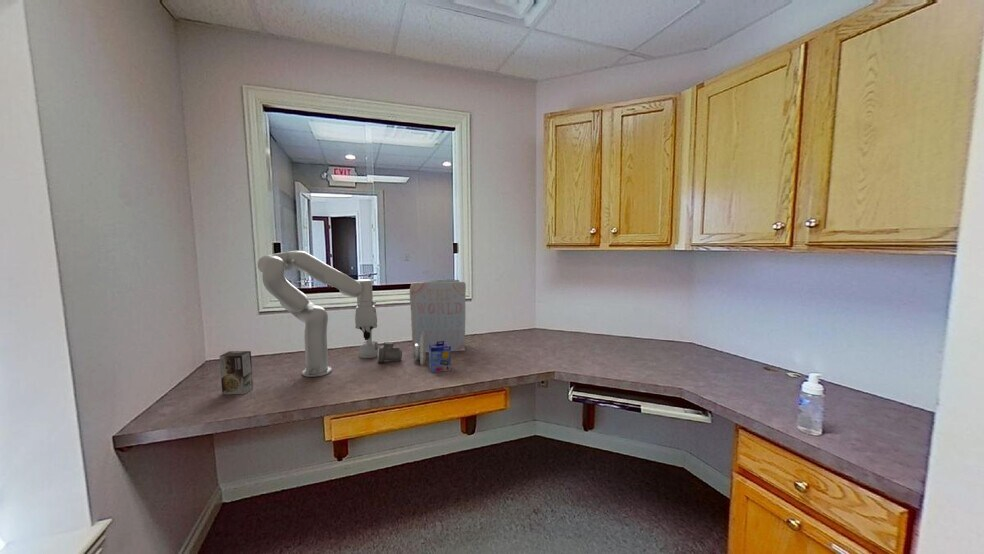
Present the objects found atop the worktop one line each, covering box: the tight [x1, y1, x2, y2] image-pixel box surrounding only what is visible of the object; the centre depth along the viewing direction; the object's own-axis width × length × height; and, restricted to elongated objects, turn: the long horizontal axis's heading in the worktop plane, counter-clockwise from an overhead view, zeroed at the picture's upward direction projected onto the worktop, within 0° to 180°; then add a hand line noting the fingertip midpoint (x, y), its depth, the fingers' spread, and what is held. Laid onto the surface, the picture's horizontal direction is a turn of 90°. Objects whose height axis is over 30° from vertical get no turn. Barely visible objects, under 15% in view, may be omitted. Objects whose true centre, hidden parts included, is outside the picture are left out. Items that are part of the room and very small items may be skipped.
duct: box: [413, 331, 427, 366], centre depth 199 cm, size 14×5×14 cm, turn 5°
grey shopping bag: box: [409, 279, 467, 354], centre depth 222 cm, size 17×31×40 cm, turn 101°
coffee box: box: [218, 350, 254, 395], centre depth 157 cm, size 9×6×16 cm
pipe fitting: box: [377, 341, 403, 363], centre depth 198 cm, size 12×8×10 cm
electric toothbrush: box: [358, 326, 379, 359], centre depth 208 cm, size 11×20×10 cm
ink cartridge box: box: [428, 341, 452, 373], centre depth 185 cm, size 10×6×14 cm, turn 111°
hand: (367, 339), depth 197 cm, fingers closed
